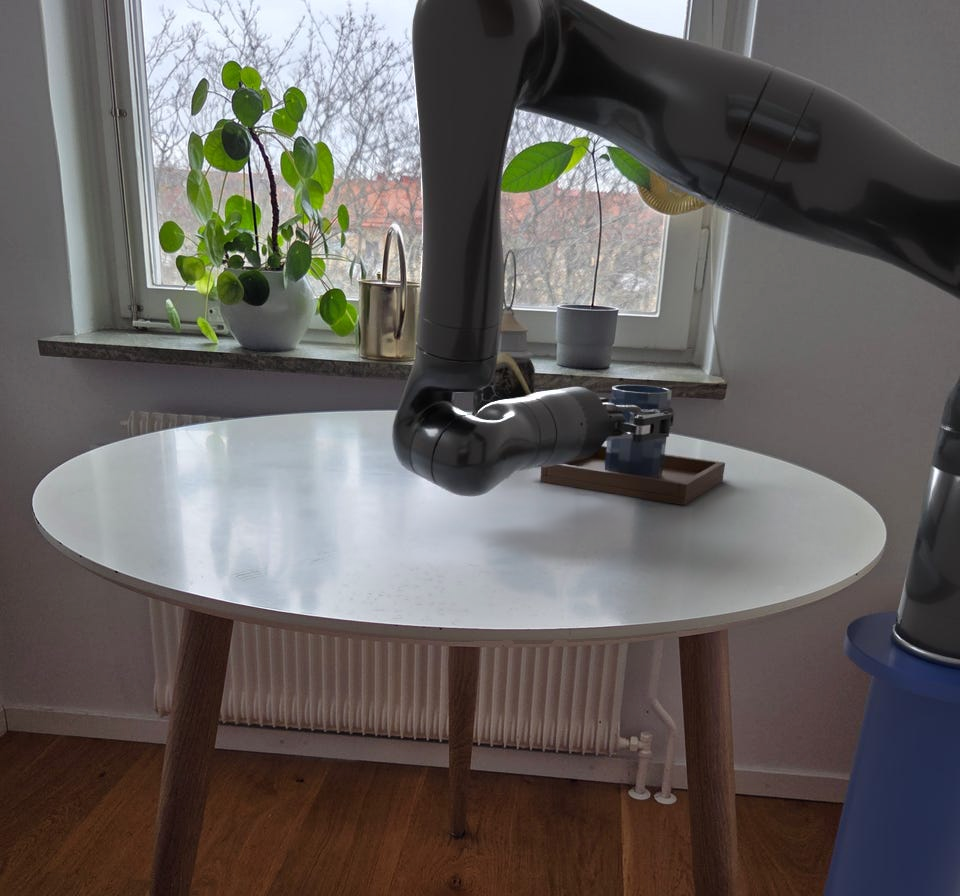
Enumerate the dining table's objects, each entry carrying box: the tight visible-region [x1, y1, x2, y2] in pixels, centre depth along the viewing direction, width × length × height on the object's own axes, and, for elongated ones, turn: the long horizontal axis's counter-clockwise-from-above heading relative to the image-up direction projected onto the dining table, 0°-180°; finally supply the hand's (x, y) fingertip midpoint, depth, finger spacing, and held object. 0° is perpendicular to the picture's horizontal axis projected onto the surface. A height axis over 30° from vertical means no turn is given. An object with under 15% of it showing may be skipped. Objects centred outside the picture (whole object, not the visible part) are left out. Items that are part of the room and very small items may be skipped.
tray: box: [539, 444, 726, 506], centre depth 111 cm, size 18×15×2 cm
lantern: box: [471, 249, 536, 416], centre depth 115 cm, size 9×8×25 cm
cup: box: [605, 384, 673, 479], centre depth 110 cm, size 7×7×10 cm
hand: (637, 412), depth 108 cm, fingers open, 8 cm apart
